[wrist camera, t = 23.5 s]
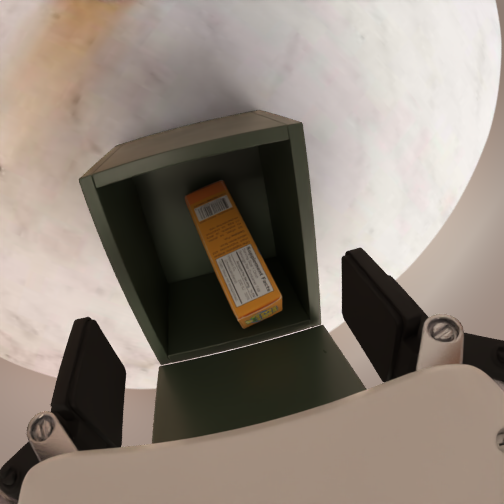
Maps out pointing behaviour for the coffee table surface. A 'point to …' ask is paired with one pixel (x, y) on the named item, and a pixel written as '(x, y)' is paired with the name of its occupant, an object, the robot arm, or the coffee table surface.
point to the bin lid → (251, 385)
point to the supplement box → (234, 254)
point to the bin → (186, 235)
